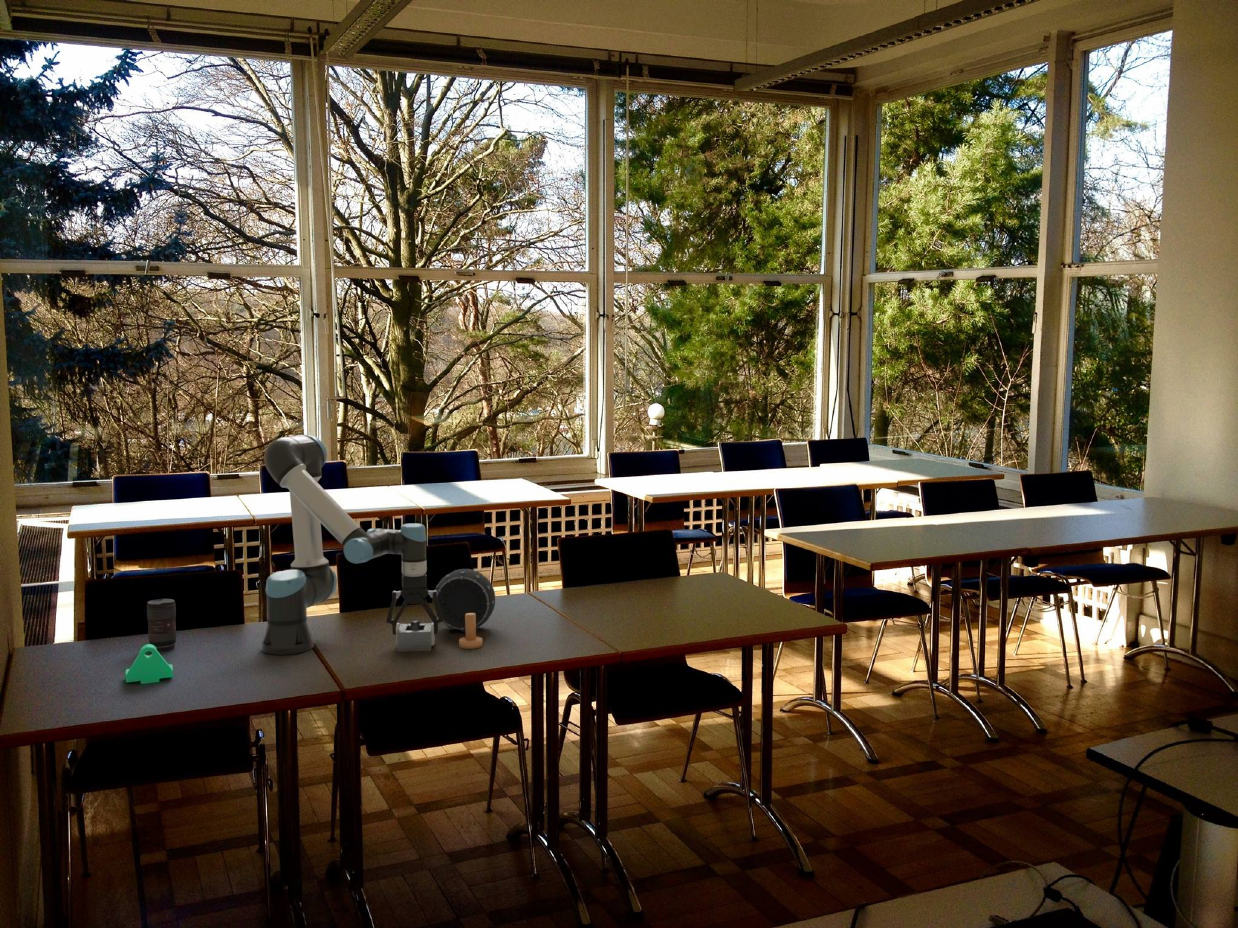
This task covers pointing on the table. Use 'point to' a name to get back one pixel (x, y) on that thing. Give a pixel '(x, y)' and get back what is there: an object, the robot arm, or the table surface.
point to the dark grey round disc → (465, 598)
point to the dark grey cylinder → (162, 624)
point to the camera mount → (149, 667)
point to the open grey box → (414, 638)
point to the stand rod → (415, 625)
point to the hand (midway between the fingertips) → (415, 644)
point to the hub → (470, 633)
